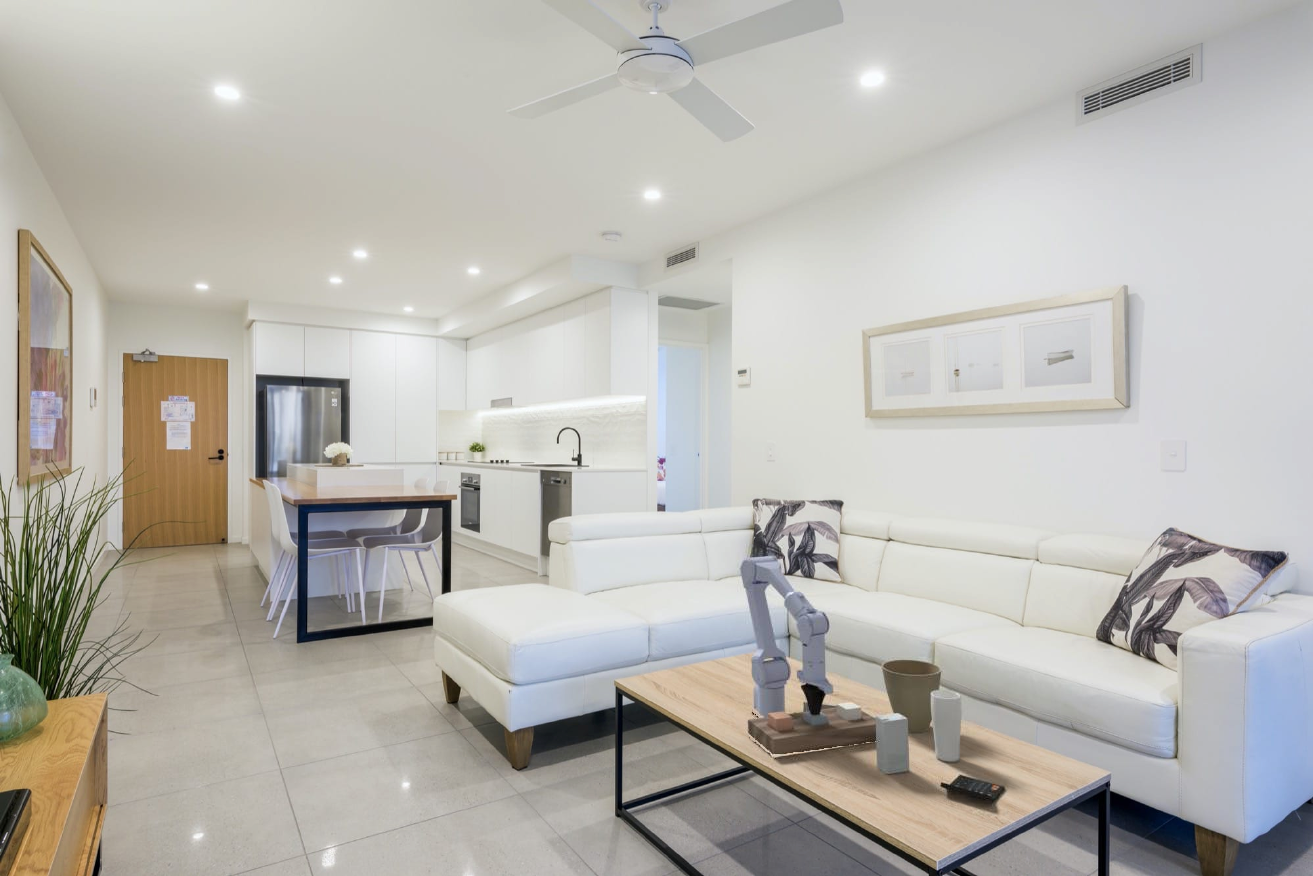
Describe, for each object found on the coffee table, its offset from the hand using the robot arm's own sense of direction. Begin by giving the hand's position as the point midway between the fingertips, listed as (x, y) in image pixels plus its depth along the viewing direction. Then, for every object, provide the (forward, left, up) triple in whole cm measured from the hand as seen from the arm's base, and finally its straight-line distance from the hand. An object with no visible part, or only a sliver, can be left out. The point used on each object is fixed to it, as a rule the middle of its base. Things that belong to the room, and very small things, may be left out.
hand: (815, 714), depth 181 cm
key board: (0, 0, -6) cm, 6 cm away
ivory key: (0, +10, -3) cm, 10 cm away
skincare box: (+22, +7, -6) cm, 24 cm away
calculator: (+37, +16, -7) cm, 41 cm away
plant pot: (+2, +28, -6) cm, 29 cm away
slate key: (0, 0, -3) cm, 3 cm away
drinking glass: (+21, +23, -6) cm, 32 cm away
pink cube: (0, -10, -3) cm, 10 cm away
